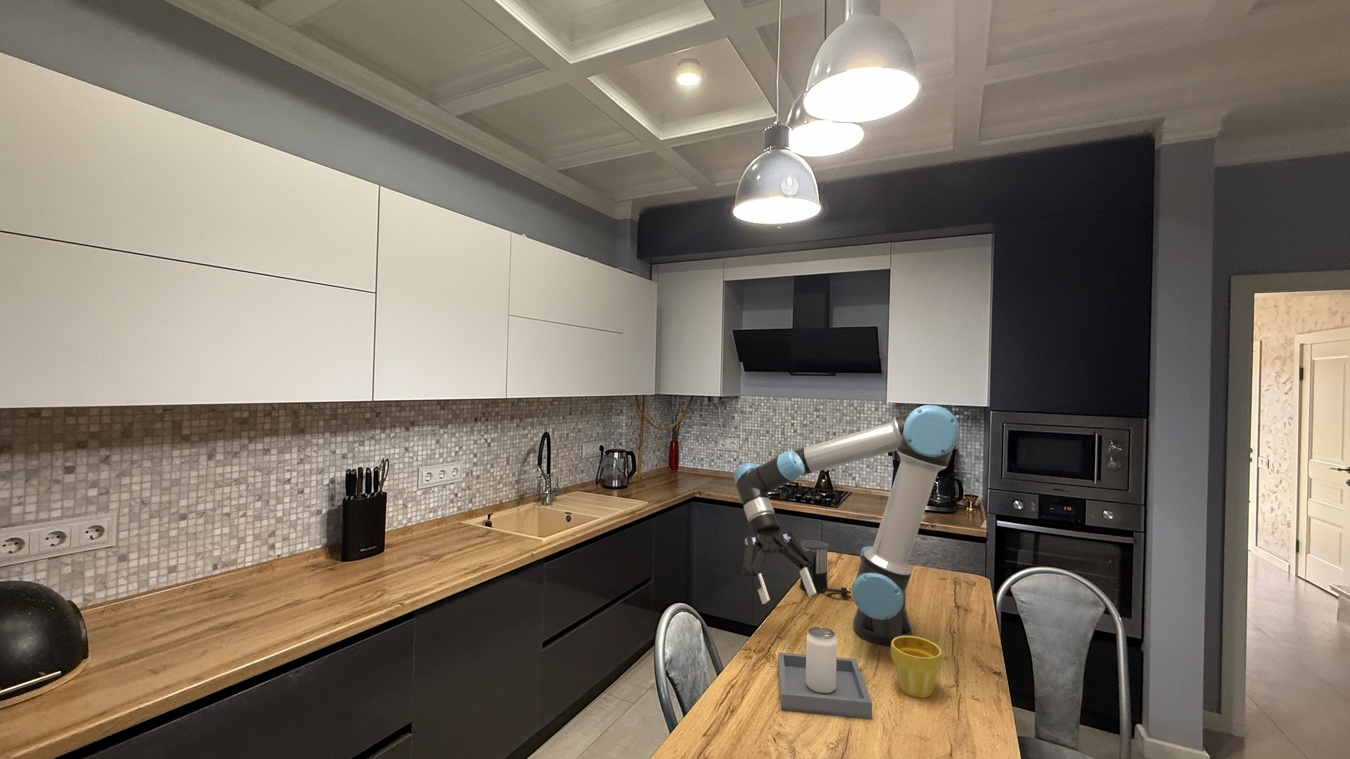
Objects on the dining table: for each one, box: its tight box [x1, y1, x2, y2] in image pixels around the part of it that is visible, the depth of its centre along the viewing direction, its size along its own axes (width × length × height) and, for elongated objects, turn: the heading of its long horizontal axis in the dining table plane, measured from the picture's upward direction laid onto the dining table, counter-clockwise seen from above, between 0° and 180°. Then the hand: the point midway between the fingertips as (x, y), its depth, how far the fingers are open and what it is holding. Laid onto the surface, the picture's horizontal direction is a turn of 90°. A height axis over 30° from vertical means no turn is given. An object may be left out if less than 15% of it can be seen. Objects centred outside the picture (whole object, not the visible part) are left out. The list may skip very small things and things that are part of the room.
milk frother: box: [799, 539, 852, 597], centre depth 179 cm, size 14×16×15 cm
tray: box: [777, 651, 873, 720], centre depth 121 cm, size 18×18×3 cm
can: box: [805, 626, 837, 694], centre depth 121 cm, size 6×6×12 cm
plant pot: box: [890, 635, 943, 699], centre depth 122 cm, size 10×10×10 cm
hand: (789, 598), depth 134 cm, fingers open, 13 cm apart
